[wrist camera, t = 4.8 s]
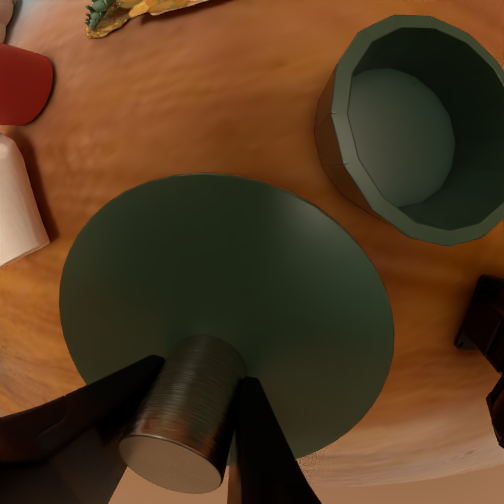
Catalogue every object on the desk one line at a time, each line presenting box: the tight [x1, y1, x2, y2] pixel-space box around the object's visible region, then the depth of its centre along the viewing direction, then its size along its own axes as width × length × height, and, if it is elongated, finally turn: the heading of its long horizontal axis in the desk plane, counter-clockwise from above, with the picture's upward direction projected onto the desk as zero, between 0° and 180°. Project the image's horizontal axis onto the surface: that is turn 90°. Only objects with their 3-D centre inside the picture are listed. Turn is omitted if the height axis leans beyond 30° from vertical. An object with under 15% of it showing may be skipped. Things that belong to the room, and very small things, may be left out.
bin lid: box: [59, 172, 394, 494], centre depth 7 cm, size 11×11×5 cm
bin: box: [314, 15, 504, 246], centre depth 13 cm, size 10×10×8 cm
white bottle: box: [0, 133, 50, 269], centre depth 18 cm, size 6×12×6 cm, turn 19°
